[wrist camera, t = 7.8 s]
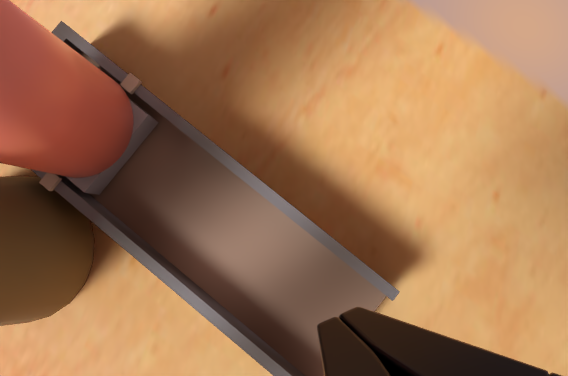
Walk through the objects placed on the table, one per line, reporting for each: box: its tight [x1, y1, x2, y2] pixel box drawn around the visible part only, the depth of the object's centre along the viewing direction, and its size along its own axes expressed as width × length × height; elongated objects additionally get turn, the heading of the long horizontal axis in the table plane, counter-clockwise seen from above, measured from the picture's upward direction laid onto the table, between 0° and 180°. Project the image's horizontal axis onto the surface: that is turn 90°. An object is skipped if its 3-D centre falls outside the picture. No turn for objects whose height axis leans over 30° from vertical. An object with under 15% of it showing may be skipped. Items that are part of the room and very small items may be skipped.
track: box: [31, 21, 399, 376], centre depth 18 cm, size 16×5×2 cm, turn 51°
